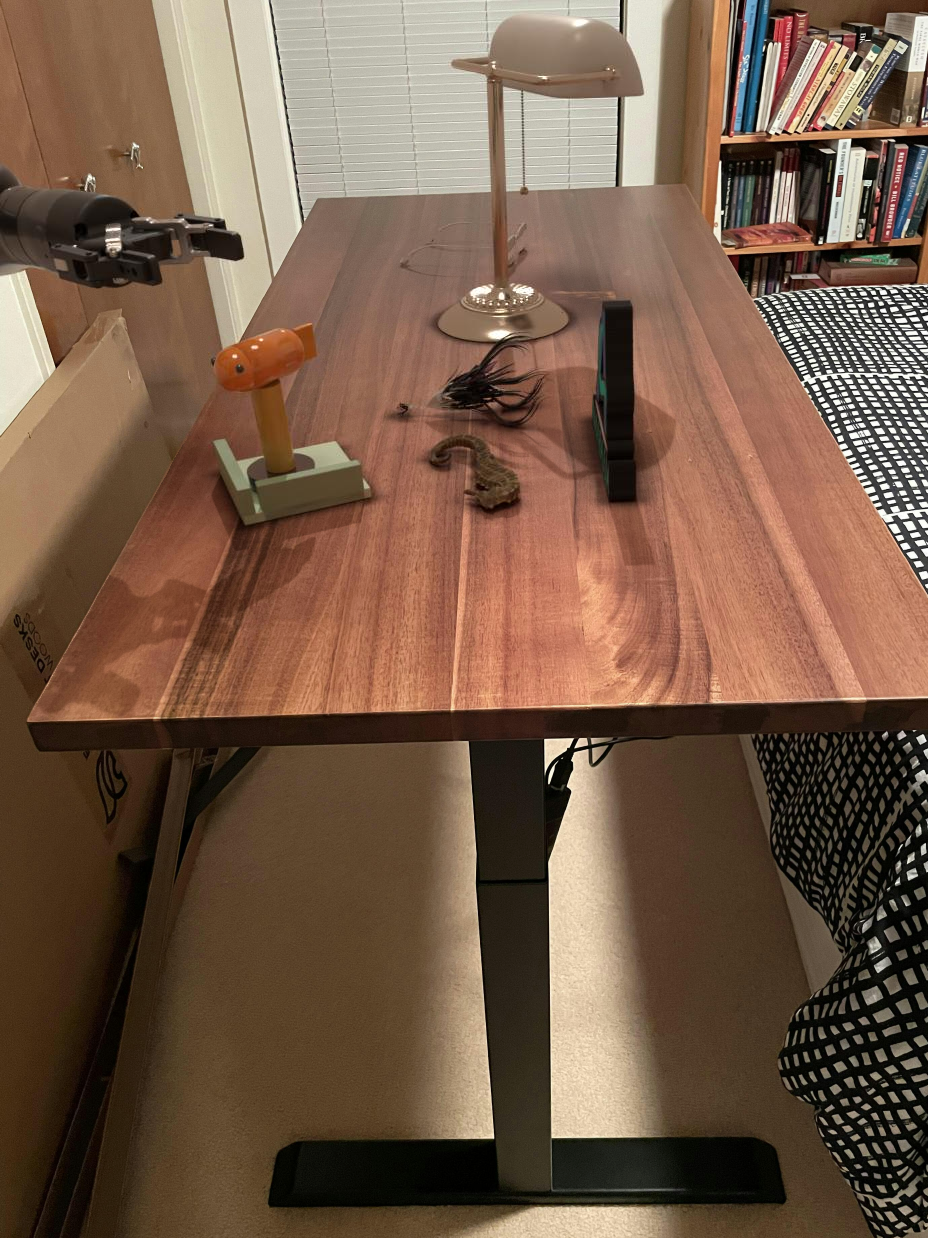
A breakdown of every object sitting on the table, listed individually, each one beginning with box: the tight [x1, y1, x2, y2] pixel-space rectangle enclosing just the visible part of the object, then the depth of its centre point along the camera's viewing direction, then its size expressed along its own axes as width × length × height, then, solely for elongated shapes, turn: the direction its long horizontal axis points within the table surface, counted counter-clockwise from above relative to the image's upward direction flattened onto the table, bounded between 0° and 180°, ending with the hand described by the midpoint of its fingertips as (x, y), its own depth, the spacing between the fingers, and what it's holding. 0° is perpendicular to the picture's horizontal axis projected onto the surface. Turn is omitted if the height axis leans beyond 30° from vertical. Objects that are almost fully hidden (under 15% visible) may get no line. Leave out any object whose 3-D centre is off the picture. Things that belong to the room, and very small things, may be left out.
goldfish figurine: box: [210, 322, 318, 493], centre depth 89 cm, size 11×6×14 cm, turn 144°
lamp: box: [436, 12, 645, 343], centre depth 122 cm, size 26×24×34 cm
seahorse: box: [428, 433, 522, 510], centre depth 93 cm, size 6×15×2 cm, turn 24°
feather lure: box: [396, 331, 556, 428], centre depth 103 cm, size 9×18×8 cm, turn 83°
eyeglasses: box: [399, 221, 527, 266], centre depth 157 cm, size 15×18×4 cm
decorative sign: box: [591, 299, 637, 501], centre depth 92 cm, size 19×2×15 cm, turn 1°
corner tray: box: [212, 438, 372, 526], centre depth 93 cm, size 12×12×4 cm
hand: (199, 258), depth 79 cm, fingers open, 8 cm apart
